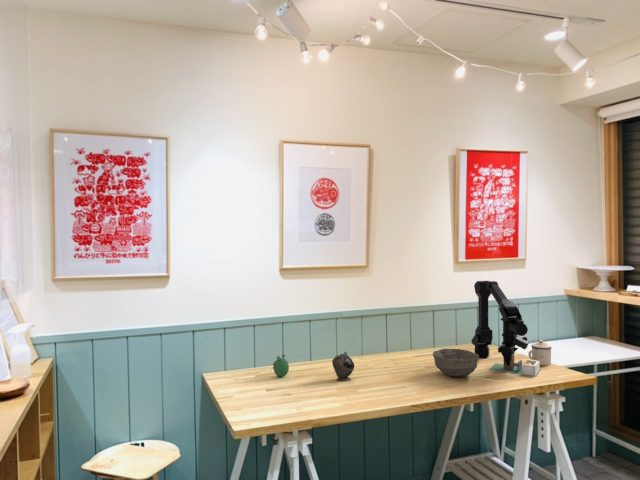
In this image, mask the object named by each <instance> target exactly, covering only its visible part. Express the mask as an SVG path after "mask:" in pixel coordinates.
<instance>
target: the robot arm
mask: <svg viewBox="0 0 640 480" xmlns="http://www.w3.org/2000/svg"><path fill="white" fill-rule="evenodd" d="M473 287H474V293H475V295H476V297H477V299H478V300H477V301H478V307H477V308H478V309H477V311H478V315H477V317H478V318H477V319H478V320H477V321H478V325H477V327H476V329H475V331H474V336H473V337H472V338H471V344H472V345H473V346H474V353H476V354H477V355H479V358H482V359H487V358H488V357H489V356H490V347H489V346H491V345H492V344H493V343H492V341H493V337H494V335H493V330H492V329H491V328H490V327H489V298H490V296H491V295H492V297H493V299H494V301H496V303H497V305H498V306H499V307H498V311H499V313H500V315H501V318H500V321H501V322H502V333H501V336H502V342H501V345H500V346H498V347H497V353H500V354H501V356H502V357H503V361H504V360H505V362H506V364H507V365H510V360H511V355H512V354H513V353H514V354H515V352H516V351H518V349H519V348H521V349H522V350H526V349H527V348H528V346H529V344H530V341H529V340H528V337H527V336H526V334H528V331H529V330H528V329H529V328H528V326H527V324H525V323H524V320H523V317H522V314H521V312H520V311H519V308H518V306H517V305H516V303H514V302H513V301H511V300H510V299H508V298H507V296H506V295H505V293H504V292H503V291H502V290H503V289H501V287H500V285H499V283H498V281H495V280H492V281H490V280H476V282H475V283H474V286H473ZM519 336H521V337H519ZM516 346H517V347H516Z"/></svg>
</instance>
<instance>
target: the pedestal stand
mask: <svg viewBox="0 0 640 480" xmlns="http://www.w3.org/2000/svg"><path fill="white" fill-rule="evenodd" d="M522 362H523V361H522V359H519V360H518V361H517V362H515V352H514V353H513V354H512V355H511V360H510V365H507V364H506V362H505V360H504V359H503V364H504V369H508V370H513V369H514V366H517V372H519V371H520V370H521V369H522V367H523V363H522Z"/></svg>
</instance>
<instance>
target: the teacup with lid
mask: <svg viewBox="0 0 640 480" xmlns="http://www.w3.org/2000/svg"><path fill="white" fill-rule="evenodd" d="M528 358H529V360H536V361H540V366H549V365H551V364H552V345H550V344H549V343H546V342H544V339H543V340H542V339H540V340H539V341H537V342H535V343H532V344H531V350H529V351H528Z"/></svg>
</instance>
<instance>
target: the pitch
mask: <svg viewBox="0 0 640 480" xmlns="http://www.w3.org/2000/svg"><path fill="white" fill-rule="evenodd" d="M488 371H491V372H499V373H500V372H501V373H508V374H514V375H520V376H526V377H527V376H528V377H537V376H538V375H539V374H540V372H541V371H542V369H540V370H539V372H538V373H537V374H536V376H534V375H527V374H523V366H522V369H521V370H520V371H519V372H517V366H514V369H513V370H508V369H504V363H497V362H496V363H494V364H493V365H492V366H491V367H490V368H489V369H488Z"/></svg>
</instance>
